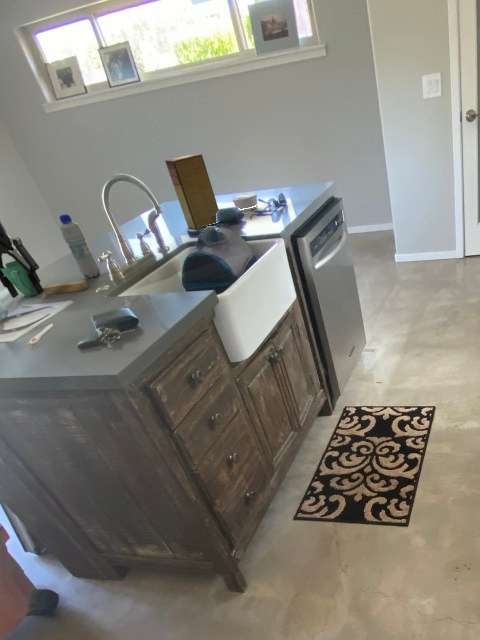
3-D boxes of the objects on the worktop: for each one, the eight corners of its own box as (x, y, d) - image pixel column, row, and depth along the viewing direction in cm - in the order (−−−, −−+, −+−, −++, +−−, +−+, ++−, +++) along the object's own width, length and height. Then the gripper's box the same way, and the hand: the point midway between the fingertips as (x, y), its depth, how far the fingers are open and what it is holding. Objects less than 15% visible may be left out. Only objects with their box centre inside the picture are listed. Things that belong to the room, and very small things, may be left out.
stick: (46, 295, 176) (42, 288, 174) (50, 292, 178) (46, 285, 176) (84, 290, 174) (81, 283, 173) (88, 287, 177) (85, 279, 175)
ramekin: (237, 214, 235) (233, 200, 232) (234, 209, 243) (230, 196, 240) (261, 208, 237) (257, 195, 233) (257, 204, 245) (254, 192, 241)
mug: (19, 293, 181) (1, 263, 175) (48, 286, 184) (32, 256, 177) (14, 306, 171) (-5, 274, 164) (45, 298, 173) (28, 267, 166)
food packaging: (213, 219, 232) (193, 153, 216) (223, 221, 227) (203, 153, 210) (186, 227, 227) (163, 160, 210) (196, 230, 221) (173, 160, 204)
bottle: (99, 277, 184) (70, 215, 170) (81, 280, 184) (50, 218, 170) (104, 271, 189) (76, 210, 175) (86, 275, 189) (56, 213, 175)
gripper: (24, 214, 164) (62, 286, 179) (-38, 223, 166) (5, 294, 181) (11, 220, 158) (52, 294, 173) (-53, 229, 160) (-7, 302, 175)
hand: (28, 294), depth 177 cm, fingers closed on mug, 9 cm apart
